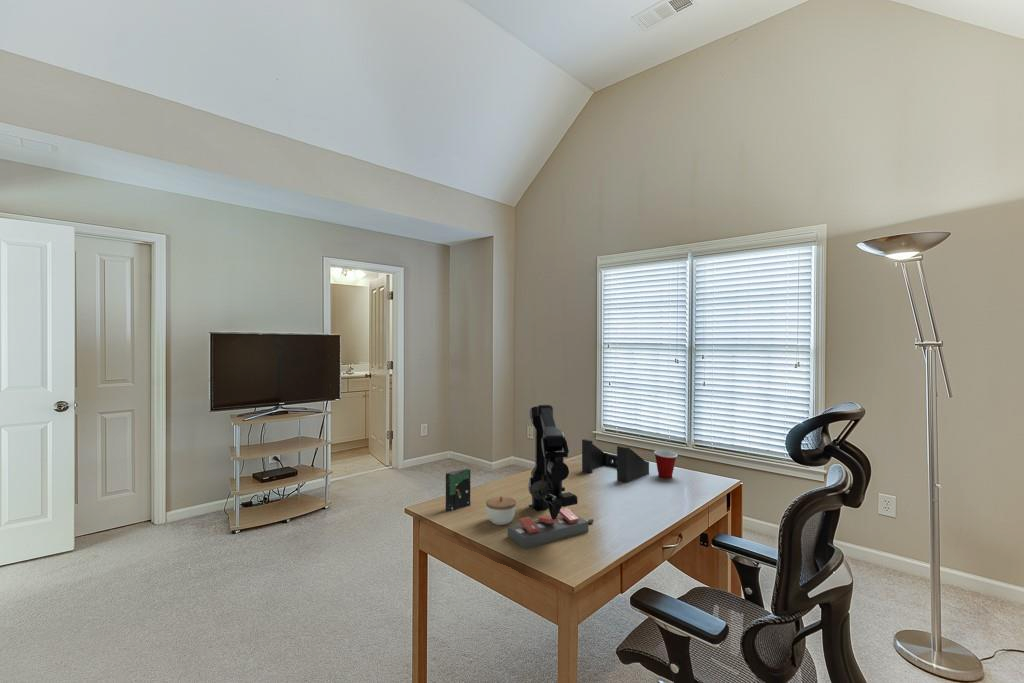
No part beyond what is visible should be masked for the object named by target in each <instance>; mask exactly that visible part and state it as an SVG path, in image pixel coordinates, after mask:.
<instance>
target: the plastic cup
mask: <svg viewBox="0 0 1024 683" xmlns="http://www.w3.org/2000/svg"><path fill="white" fill-rule="evenodd" d="M653 453H654V457H655V462H656V469H657V473H658V477H660V478H661V479H672V478H673V473H674V469H675V463H676V459H677V458H678V456H679V455H678V454H677V453H675V452H674V451H669V450H664V449H663V450H661V449H660V450H659V449H658V450H654V451H653Z"/></svg>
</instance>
